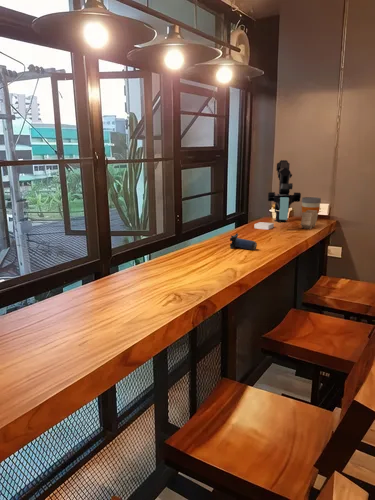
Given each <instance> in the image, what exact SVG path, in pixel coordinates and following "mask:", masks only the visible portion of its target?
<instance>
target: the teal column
mask: <svg viewBox="0 0 375 500" xmlns="http://www.w3.org/2000/svg"><path fill="white" fill-rule="evenodd" d="M288 203H289V198H288V197H280V212H279V220H286V221H288V219H289V218H288V217H289V211H288Z"/></svg>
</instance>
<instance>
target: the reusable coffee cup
mask: <svg viewBox="0 0 375 500" xmlns="http://www.w3.org/2000/svg"><path fill="white" fill-rule="evenodd" d="M321 203H322V202H321V197H314V196H313V197H312V196H311V197H310V196H308V197H307V196H304V197H302V198H301V213H303V212H306V211H307V210H317V217H316V221H317V220H318V215H319V213H320V209H321Z"/></svg>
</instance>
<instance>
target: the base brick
mask: <svg viewBox="0 0 375 500" xmlns="http://www.w3.org/2000/svg"><path fill="white" fill-rule="evenodd" d="M274 225H275V223H274V222H263V221H262V222H261V221H259V222H257V223H254V227H253V228H254V229H258V230H272V229H273V228H274Z"/></svg>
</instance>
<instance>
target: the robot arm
mask: <svg viewBox="0 0 375 500" xmlns="http://www.w3.org/2000/svg"><path fill="white" fill-rule="evenodd" d="M275 167H276V168H275V169H276V170H275V171H276V172H277V173H276V175H277V179H278V180H279V182H278V193H276V192H275V191H269V192H268V193H267V202H273V203H275V204H274V213H275V219H274V220H273V222H277V223H278V222H279V223H285V222H288V220H279V212H280V197H288V198H289V203H288V212H289V209H290V207H291V205H292V204H293V203H295V202H296V203H298V202H301V199H302V198H301V197H302V193H301V192H293V194H290V193H291V192H290V191H291V190H293V187H294V186H293V185H294V184H293V183H291V182H290V179H291V178H292V176H293V174H292V172H291V171H290V163H289V162H288V160H286V159H283V160H282V159H281V160H279V162H277V163H276V166H275Z"/></svg>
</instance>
